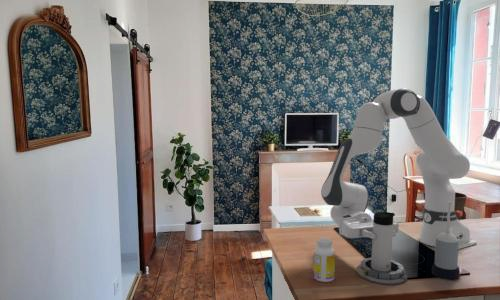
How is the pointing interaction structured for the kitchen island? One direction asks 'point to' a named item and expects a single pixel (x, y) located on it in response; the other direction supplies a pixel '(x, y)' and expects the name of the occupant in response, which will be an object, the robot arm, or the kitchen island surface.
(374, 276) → the collar
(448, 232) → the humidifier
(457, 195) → the plant pot
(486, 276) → the kitchen island surface
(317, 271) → the supplement bottle
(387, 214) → the travel mug
